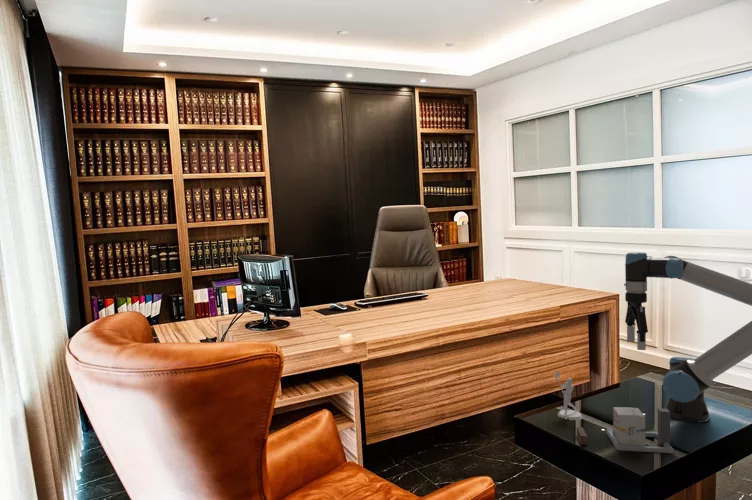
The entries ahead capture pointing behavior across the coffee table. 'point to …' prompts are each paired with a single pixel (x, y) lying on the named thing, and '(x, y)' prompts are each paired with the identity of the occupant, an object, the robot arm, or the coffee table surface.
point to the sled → (661, 435)
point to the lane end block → (581, 435)
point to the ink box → (629, 426)
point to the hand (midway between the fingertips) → (636, 345)
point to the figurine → (568, 401)
